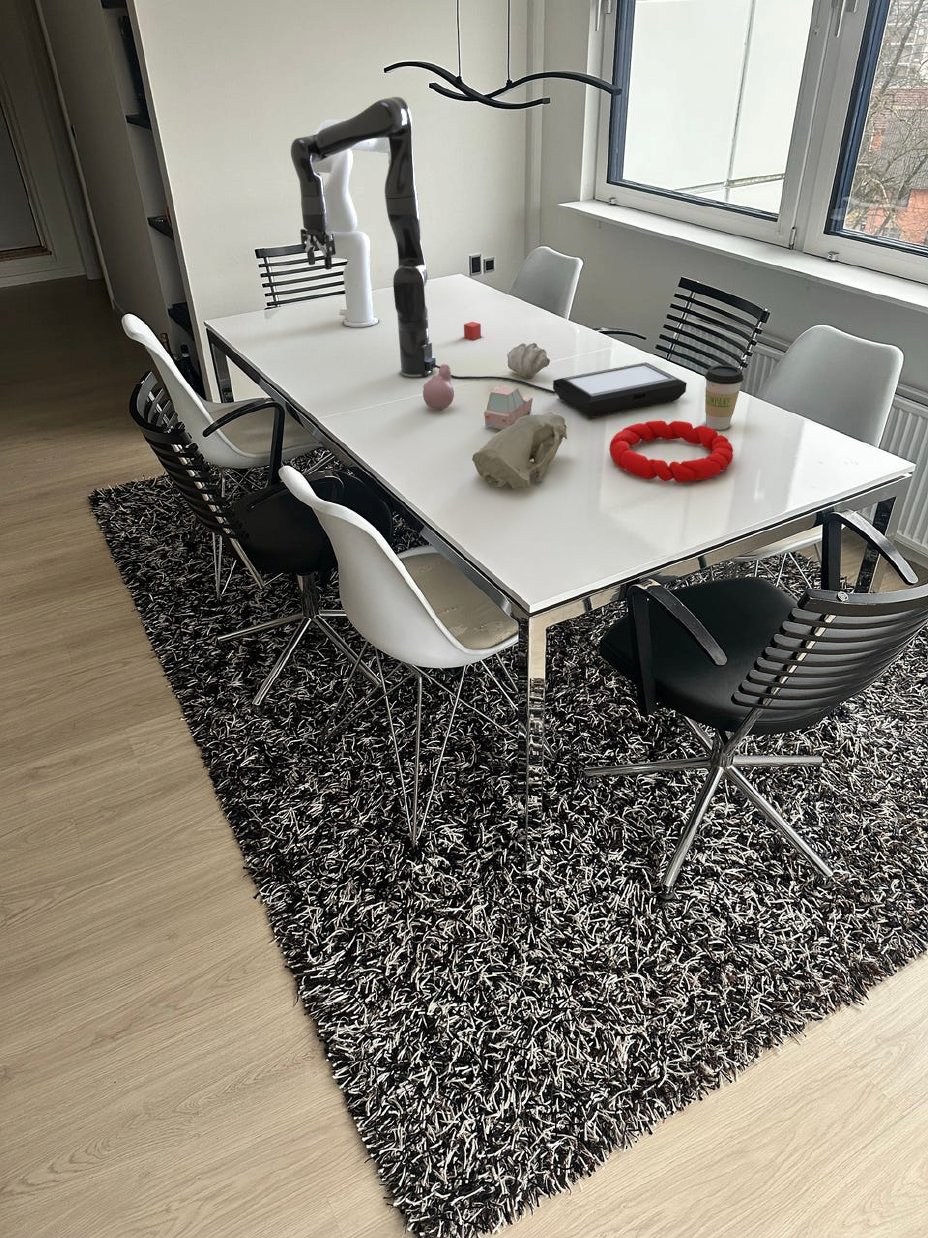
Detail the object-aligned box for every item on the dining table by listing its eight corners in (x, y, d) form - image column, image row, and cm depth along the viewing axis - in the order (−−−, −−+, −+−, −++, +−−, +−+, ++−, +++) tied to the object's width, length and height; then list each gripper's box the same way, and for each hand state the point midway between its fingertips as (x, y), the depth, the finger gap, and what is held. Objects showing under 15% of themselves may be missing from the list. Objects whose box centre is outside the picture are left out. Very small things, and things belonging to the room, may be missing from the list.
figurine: (441, 398, 262) (440, 358, 255) (460, 410, 254) (458, 368, 247) (414, 404, 258) (412, 363, 251) (432, 416, 250) (430, 374, 243)
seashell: (522, 385, 268) (523, 352, 263) (503, 370, 280) (503, 338, 274) (553, 380, 271) (554, 348, 266) (533, 365, 283) (533, 334, 277)
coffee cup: (691, 421, 242) (698, 367, 233) (722, 415, 245) (730, 362, 236) (712, 434, 234) (719, 379, 226) (743, 428, 237) (752, 373, 228)
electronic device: (589, 399, 240) (553, 377, 255) (587, 421, 244) (552, 398, 259) (687, 380, 251) (647, 359, 266) (684, 401, 254) (645, 380, 269)
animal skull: (489, 499, 227) (452, 459, 211) (541, 418, 229) (509, 372, 213) (540, 522, 217) (505, 481, 201) (594, 437, 219) (564, 390, 203)
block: (472, 334, 312) (472, 321, 309) (480, 337, 309) (480, 323, 307) (464, 337, 309) (463, 324, 307) (472, 340, 307) (472, 326, 304)
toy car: (536, 415, 249) (537, 380, 243) (510, 434, 238) (510, 398, 232) (507, 409, 253) (507, 375, 247) (480, 428, 242) (479, 393, 236)
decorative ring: (590, 427, 228) (644, 464, 203) (694, 411, 235) (759, 444, 210) (589, 454, 232) (643, 493, 207) (692, 437, 239) (756, 473, 214)
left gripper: (376, 164, 331) (379, 214, 340) (407, 168, 320) (410, 219, 330) (391, 161, 335) (394, 211, 345) (422, 165, 325) (424, 216, 334)
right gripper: (290, 209, 272) (297, 265, 281) (318, 215, 263) (324, 272, 272) (310, 206, 276) (316, 261, 285) (338, 211, 268) (343, 268, 277)
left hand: (402, 215), depth 337 cm, fingers open, 9 cm apart
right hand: (320, 266), depth 279 cm, fingers open, 8 cm apart
